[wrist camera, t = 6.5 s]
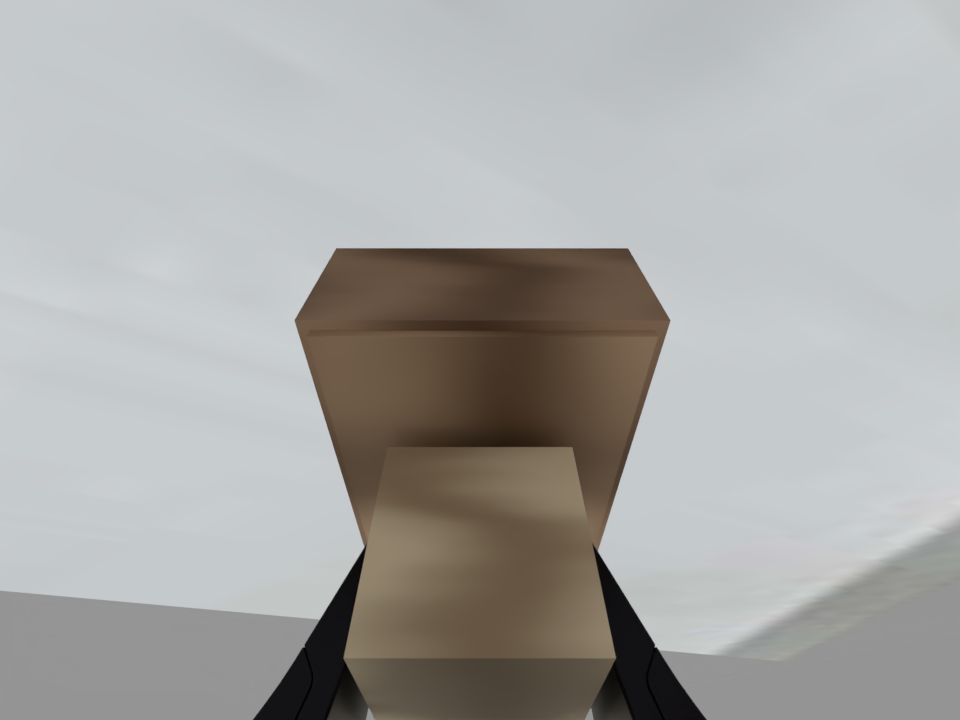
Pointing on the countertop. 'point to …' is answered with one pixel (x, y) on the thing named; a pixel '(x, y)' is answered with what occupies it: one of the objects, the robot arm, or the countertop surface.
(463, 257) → the walnut box
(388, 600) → the oak cube
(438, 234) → the countertop surface
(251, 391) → the countertop surface
